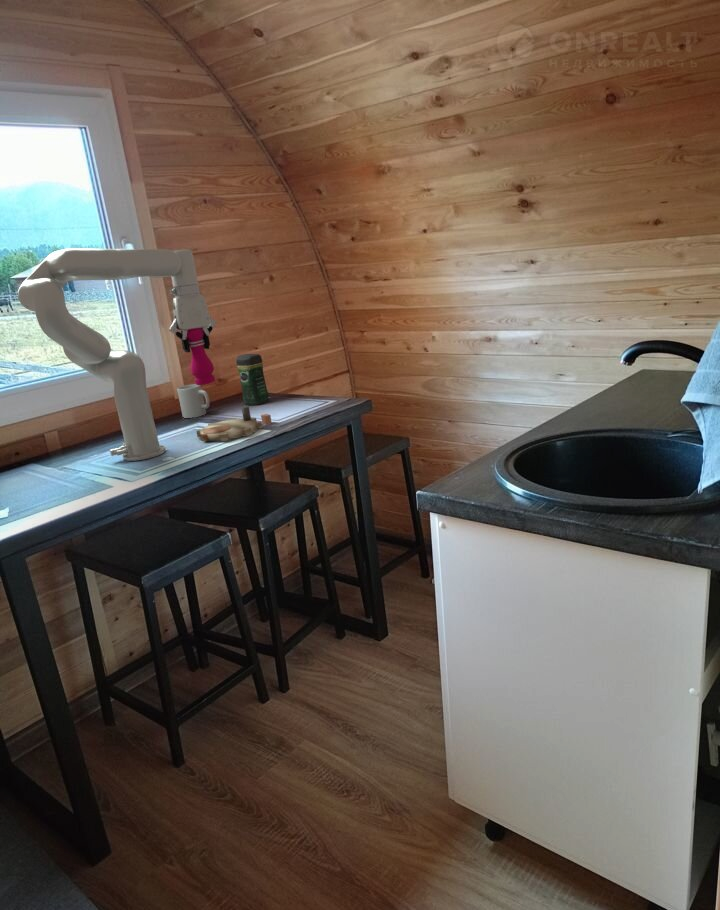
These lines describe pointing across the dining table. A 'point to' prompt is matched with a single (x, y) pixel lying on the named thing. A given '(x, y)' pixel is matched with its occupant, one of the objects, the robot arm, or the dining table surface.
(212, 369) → the pepper mill
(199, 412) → the mug
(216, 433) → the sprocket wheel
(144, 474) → the dining table surface
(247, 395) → the coffee jar
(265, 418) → the index marker
